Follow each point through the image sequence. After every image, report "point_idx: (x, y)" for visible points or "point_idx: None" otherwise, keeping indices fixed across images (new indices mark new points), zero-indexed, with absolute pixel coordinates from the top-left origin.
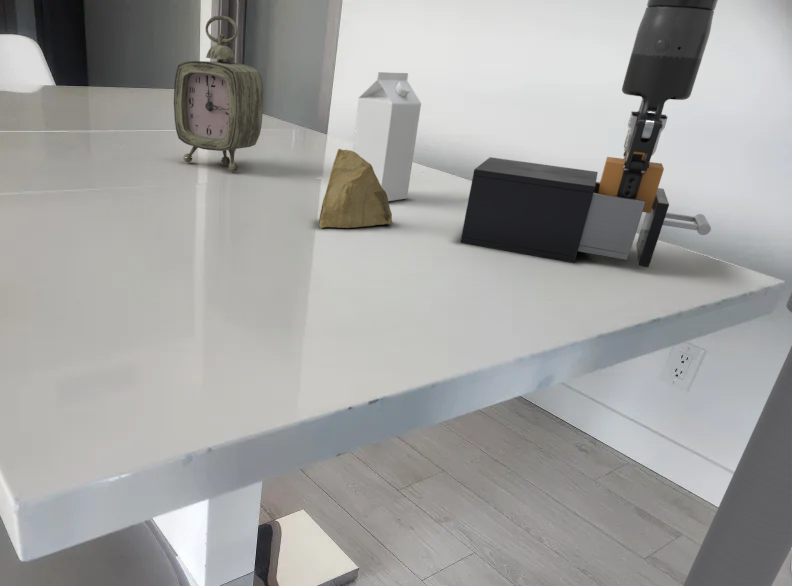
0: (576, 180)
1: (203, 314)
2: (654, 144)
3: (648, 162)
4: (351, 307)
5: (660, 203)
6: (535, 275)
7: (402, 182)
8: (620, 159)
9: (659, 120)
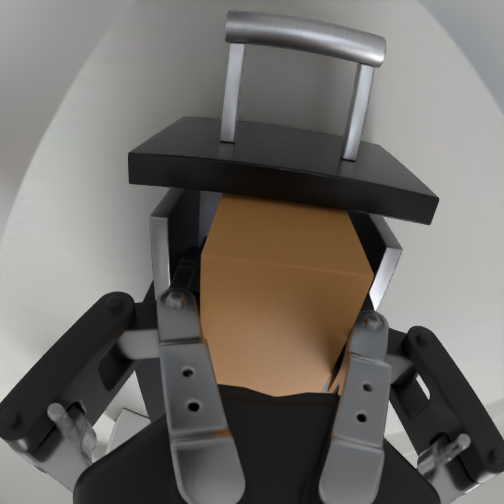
0: (324, 390)
1: (493, 419)
2: (479, 401)
3: (444, 352)
4: (496, 390)
5: (431, 219)
6: (427, 307)
7: (131, 430)
8: (233, 373)
9: (496, 475)
